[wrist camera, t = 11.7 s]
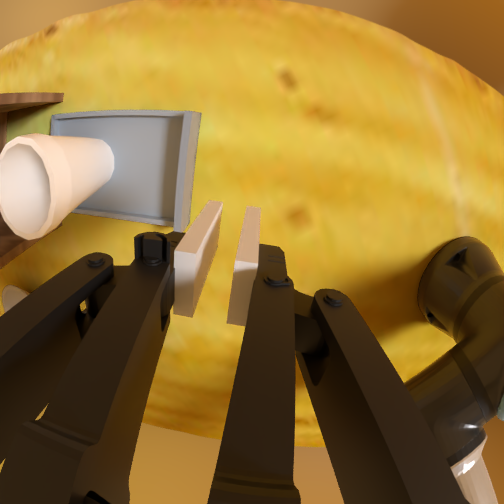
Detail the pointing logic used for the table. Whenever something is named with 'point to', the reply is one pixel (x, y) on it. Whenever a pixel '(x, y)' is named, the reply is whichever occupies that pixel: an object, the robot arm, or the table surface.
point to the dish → (12, 296)
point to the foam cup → (49, 179)
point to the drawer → (140, 163)
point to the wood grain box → (3, 238)
